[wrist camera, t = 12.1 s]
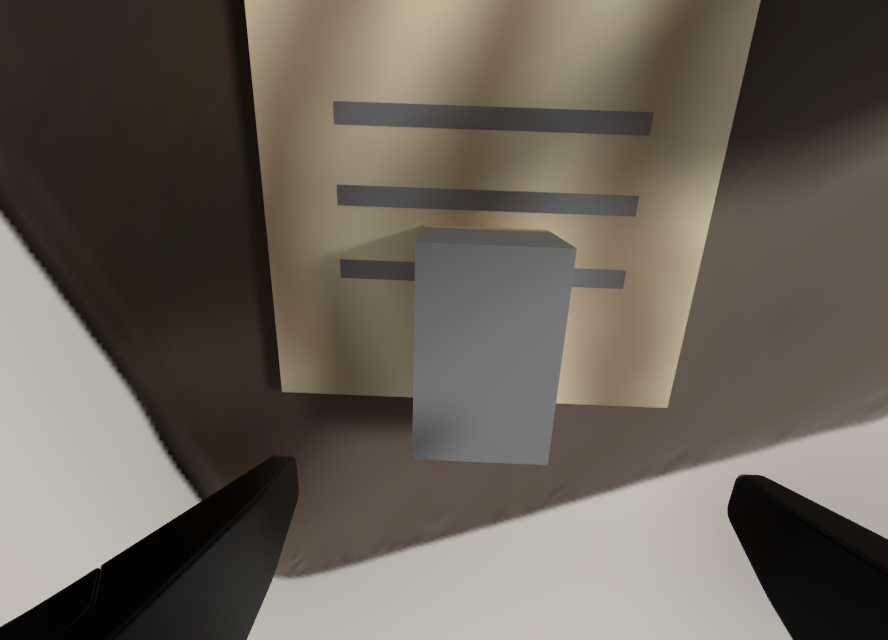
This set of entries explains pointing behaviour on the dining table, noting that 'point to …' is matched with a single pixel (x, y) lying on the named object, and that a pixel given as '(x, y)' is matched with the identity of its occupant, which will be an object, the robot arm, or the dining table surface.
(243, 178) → the dining table surface
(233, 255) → the dining table surface
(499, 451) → the block
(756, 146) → the dining table surface
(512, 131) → the plywood board
